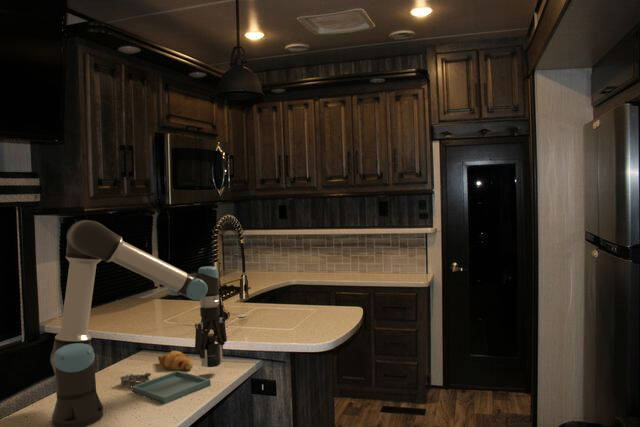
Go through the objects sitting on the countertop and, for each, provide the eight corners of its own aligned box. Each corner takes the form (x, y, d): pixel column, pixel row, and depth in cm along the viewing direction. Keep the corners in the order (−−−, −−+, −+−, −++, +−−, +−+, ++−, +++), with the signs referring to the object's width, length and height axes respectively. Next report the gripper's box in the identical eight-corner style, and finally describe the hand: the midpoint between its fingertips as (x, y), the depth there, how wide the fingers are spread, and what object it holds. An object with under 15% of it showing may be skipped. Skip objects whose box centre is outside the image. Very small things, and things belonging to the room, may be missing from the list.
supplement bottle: (210, 368, 200) (208, 338, 199) (199, 365, 204) (198, 335, 204) (224, 364, 205) (223, 334, 204) (214, 361, 209) (212, 331, 209)
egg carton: (153, 383, 198) (152, 373, 198) (138, 390, 192) (137, 379, 192) (133, 380, 203) (132, 369, 203) (117, 386, 197) (117, 376, 196)
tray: (164, 404, 176) (164, 397, 176) (132, 392, 189) (131, 386, 189) (210, 385, 192) (210, 379, 192) (177, 376, 205) (177, 370, 204)
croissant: (197, 377, 213) (204, 357, 216) (180, 372, 205) (186, 352, 208) (164, 368, 225) (170, 350, 228) (146, 363, 217) (153, 344, 220)
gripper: (195, 311, 194) (198, 372, 194) (234, 302, 209) (237, 358, 210) (183, 309, 198) (185, 368, 199) (222, 300, 214) (224, 355, 214)
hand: (212, 363), depth 204 cm, fingers closed on supplement bottle, 7 cm apart
